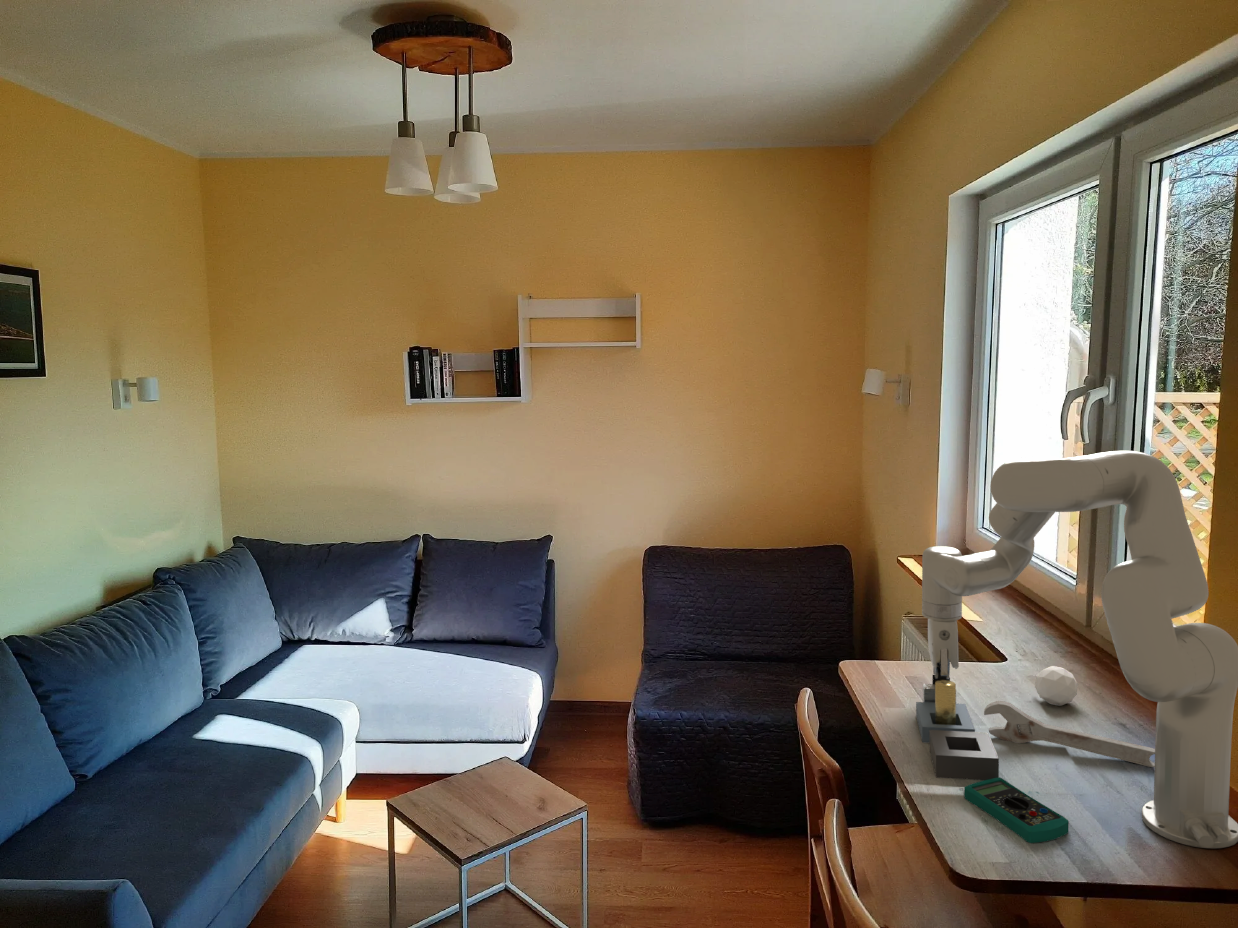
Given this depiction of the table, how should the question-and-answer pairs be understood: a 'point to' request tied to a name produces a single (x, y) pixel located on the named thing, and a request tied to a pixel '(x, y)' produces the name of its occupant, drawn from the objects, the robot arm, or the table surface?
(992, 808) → the digital multimeter
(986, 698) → the table surface
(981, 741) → the grey slotted block
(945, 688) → the peg
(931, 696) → the plug block
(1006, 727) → the wrench
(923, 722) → the socket block
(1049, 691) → the ball
